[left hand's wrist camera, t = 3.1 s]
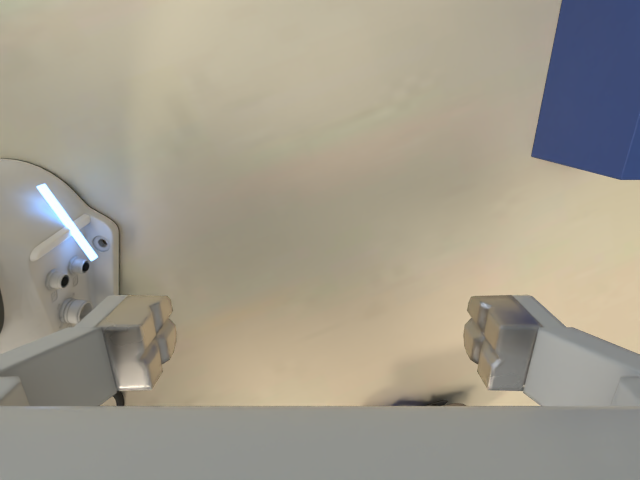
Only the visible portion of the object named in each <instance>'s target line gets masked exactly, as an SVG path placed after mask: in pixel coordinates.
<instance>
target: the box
mask: <svg viewBox="0 0 640 480" xmlns="http://www.w3.org/2000/svg"><path fill="white" fill-rule="evenodd" d="M531 156H532V157H535V158H539V159H543V160H547V161H550V162H554V163H558V164H562V165H566V166H570V167H573V168H577V169H581V170H585V171H589V172H593V173H596V174H600V175H604V176H608V177H612V178H616V179H619V180H640V0H562V4H561V9H560V14H559V19H558V24H557V29H556V34H555V39H554V44H553V50H552V55H551V60H550V65H549V70H548V75H547V80H546V85H545V90H544V95H543V100H542V105H541V110H540V115H539V120H538V125H537V130H536V135H535V140H534V145H533V150H532V155H531Z"/></svg>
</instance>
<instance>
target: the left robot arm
mask: <svg viewBox="0 0 640 480" xmlns="http://www.w3.org/2000/svg"><path fill="white" fill-rule="evenodd" d="M102 239H103V240H105V241H106V243H107V245H106V244H104V243H103V242H102ZM172 311H173V308H172V303H171V300H170V298H169V297H168V296H144V295H131V296H130V295H119V230H118V227H117V225H116V224H115V223H114V222H113V221H112V220H110V219H109V218H107V217H106V216H104V215H102V214H101V213H99V212H97V211H95V210H93V209H91V208H90V207H89V206H88V205H86V204H85V203H84V202H83V201H82V199H81V198H80V197H79V196H78V195H77V194H76V193H75V192H74V191H73V190H72V189H71V188H70V187H69V186H68V185H67V184H66V183H64V182H63V181H62V180H61V179H59V178H58V177H56V176H55V175H53V174H52V173H50V172H48V171H46V170H44V169H42V168H40V167H38V166H36V165H33V164H30V163H27V162H23V161H19V160H13V159H0V480H640V354H637V353H635V352H632V351H630V350H627V349H625V348H622V347H620V346H617V345H615V344H612V343H610V342H608V341H605V340H603V339H600V338H598V337H595V336H593V335H590V334H588V333H585V332H583V331H580V330H578V329H575V328H573V327H566V326H564V325H563V324H562V323H561V322H560V321H559V320H558V319H557V318H556V317H555V316H553V315H552V314H551V313H550V312H549V311H548V310H547V309H546V308H545V307H544V306H542V305H541V304H540V303H539V302H538V301H537V300H536V299H535V298H534V297H532V296H530V295H499V296H473V297H471V298H470V300H469V302H468V308H467V311H468V313H469V314H470V316H471V317H472V318H471V319H470V320H469V321H468V322H467V323H466V324H465V327H464V335H463V337H464V346H465V349H466V352H467V354H468V356H469V358H470V360H472V361H473V362H475V363H477V364H478V370H477V372H478V374H479V375H480V377H481V379H482V380H483V382H484V384H485V385H486V387H487V389H488V390H505V391H523V393H524V394H526V395H527V396H528V397H530V398H531V399H532V400H534V401H535V402H536V403H538V404H539V405H540V406H124V400H123V396H122V394H121V393H120V391H134V390H152V389H153V387H154V385H155V384H156V382H157V380H158V379H159V377H160V375H161V374H162V372H163V370H162V364H163V363H165V362H167V361H168V360H170V358H171V356H172V354H173V353H174V349H175V345H176V327H175V324H174V323H173V322H172V321H171V320H170V319H169V316H170V314H171V313H172ZM112 396H113V397H114V398H115V399H116V403H117V406H100V405H101V404H102V403H104V402H105V401H106V400H108V399H109V398H110V397H112Z"/></svg>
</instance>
